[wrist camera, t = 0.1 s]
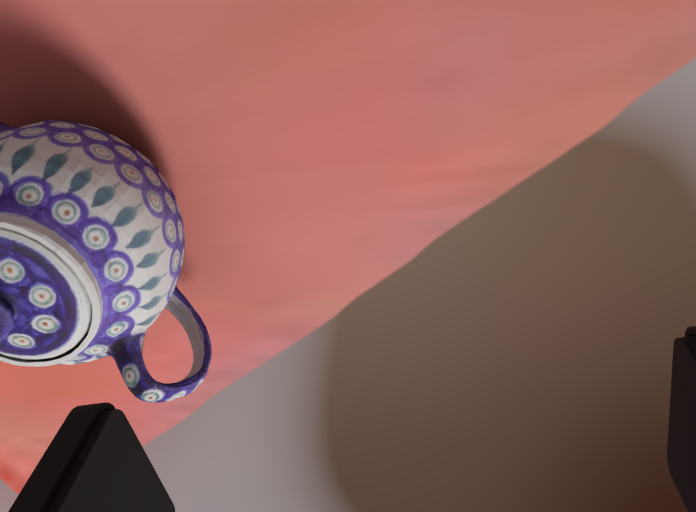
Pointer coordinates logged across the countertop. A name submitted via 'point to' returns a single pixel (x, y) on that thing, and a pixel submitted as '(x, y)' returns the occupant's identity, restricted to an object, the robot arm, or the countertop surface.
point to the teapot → (89, 254)
